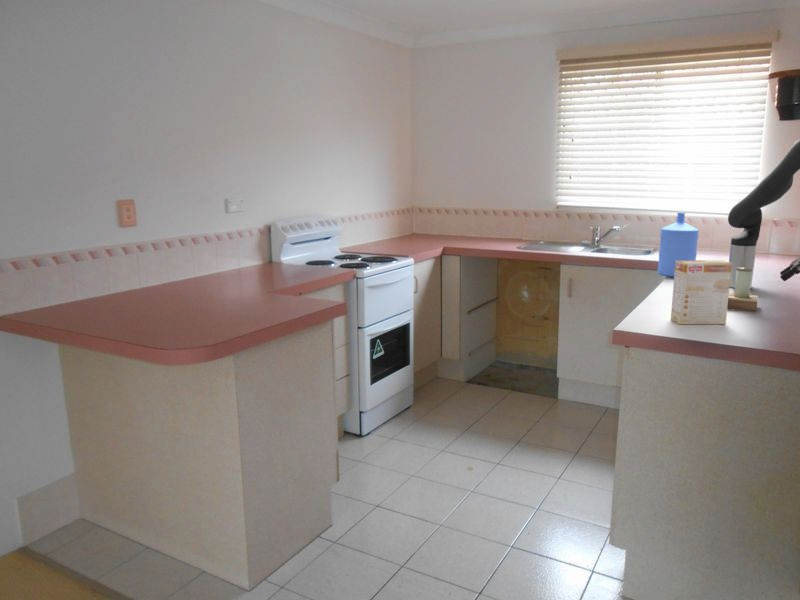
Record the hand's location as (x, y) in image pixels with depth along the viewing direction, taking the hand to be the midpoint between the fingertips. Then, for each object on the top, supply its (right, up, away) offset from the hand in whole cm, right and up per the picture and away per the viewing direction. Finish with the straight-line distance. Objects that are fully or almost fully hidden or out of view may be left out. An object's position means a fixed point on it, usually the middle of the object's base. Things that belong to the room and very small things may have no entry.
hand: (781, 277), depth 223 cm
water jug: (-4, +3, +76) cm, 76 cm away
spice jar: (-10, -6, +7) cm, 14 cm away
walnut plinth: (-10, -10, +8) cm, 17 cm away
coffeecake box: (-35, -15, -14) cm, 40 cm away
